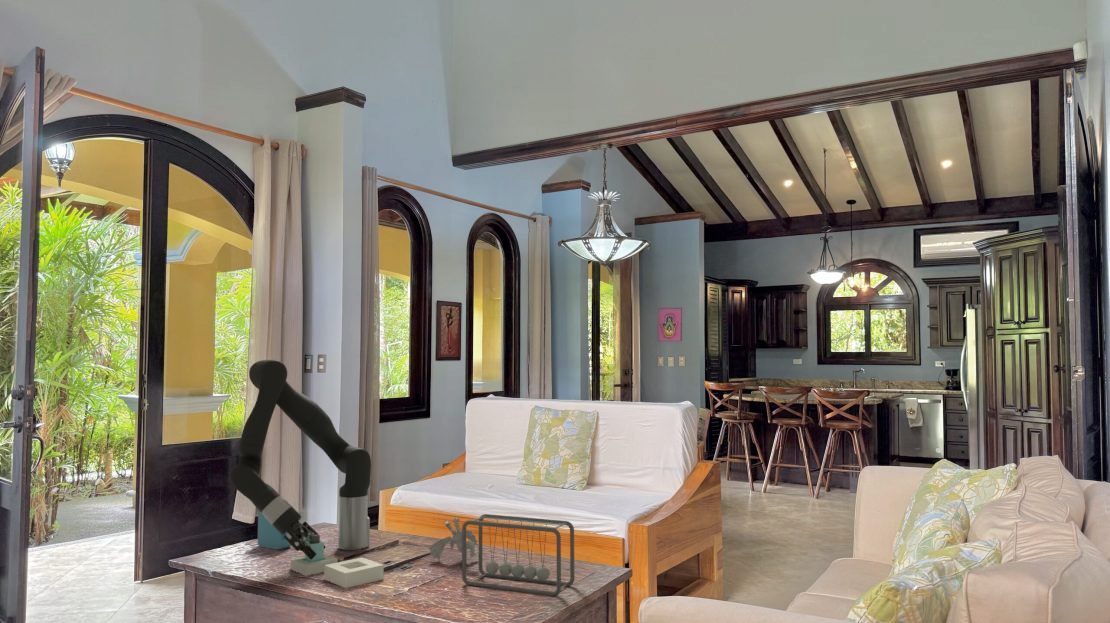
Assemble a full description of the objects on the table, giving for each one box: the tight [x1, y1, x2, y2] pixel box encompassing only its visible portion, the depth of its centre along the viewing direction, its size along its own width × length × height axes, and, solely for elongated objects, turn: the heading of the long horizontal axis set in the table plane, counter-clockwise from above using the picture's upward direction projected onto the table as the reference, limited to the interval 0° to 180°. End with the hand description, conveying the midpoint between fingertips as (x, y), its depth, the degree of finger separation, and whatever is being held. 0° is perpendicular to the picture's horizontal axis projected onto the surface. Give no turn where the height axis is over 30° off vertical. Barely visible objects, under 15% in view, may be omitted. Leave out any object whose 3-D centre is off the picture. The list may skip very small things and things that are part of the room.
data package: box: [257, 511, 292, 550], centre depth 255 cm, size 12×4×12 cm, turn 60°
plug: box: [304, 534, 325, 562], centre depth 227 cm, size 4×4×10 cm
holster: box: [290, 553, 339, 577], centre depth 227 cm, size 10×10×3 cm
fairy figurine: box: [428, 517, 479, 561], centre depth 234 cm, size 10×18×14 cm, turn 65°
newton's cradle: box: [461, 513, 575, 597], centre depth 210 cm, size 30×10×18 cm, turn 66°
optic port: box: [323, 556, 385, 589], centre depth 216 cm, size 12×12×4 cm
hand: (318, 553), depth 227 cm, fingers open, 8 cm apart
